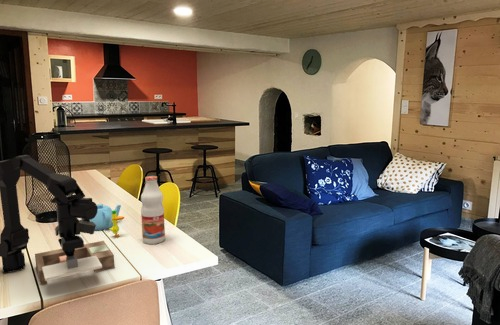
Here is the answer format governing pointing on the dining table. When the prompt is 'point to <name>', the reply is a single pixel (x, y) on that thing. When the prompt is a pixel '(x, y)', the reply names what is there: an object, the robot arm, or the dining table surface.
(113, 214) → the toy figure
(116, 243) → the dining table surface
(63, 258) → the block
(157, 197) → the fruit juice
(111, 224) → the teapot
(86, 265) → the cover
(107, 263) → the brown shallow open box
